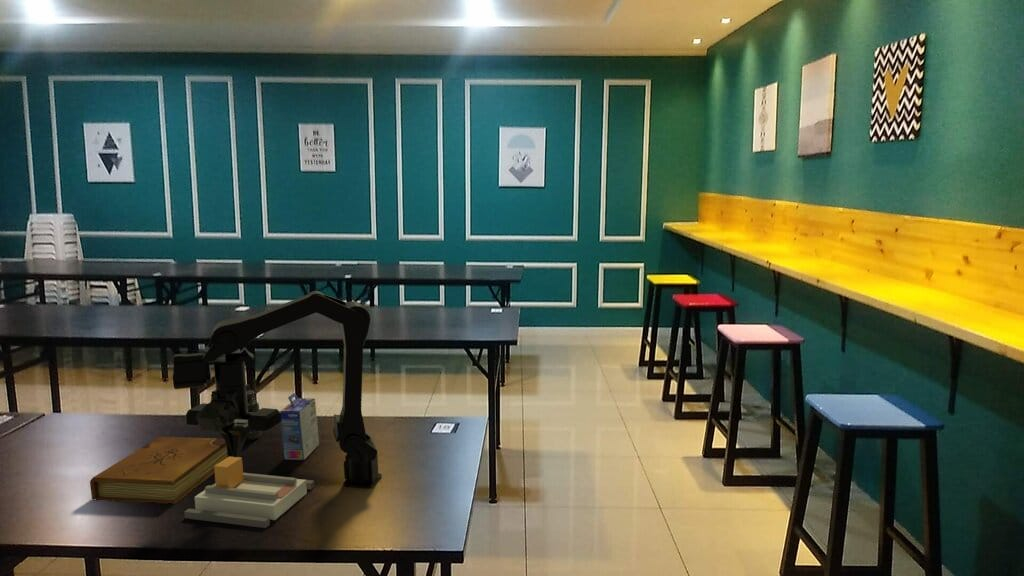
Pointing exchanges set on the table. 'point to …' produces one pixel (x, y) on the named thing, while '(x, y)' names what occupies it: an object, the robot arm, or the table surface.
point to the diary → (160, 470)
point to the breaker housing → (253, 496)
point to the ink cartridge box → (299, 428)
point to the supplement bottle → (255, 407)
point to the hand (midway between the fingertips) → (236, 456)
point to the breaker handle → (229, 472)
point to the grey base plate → (233, 515)
